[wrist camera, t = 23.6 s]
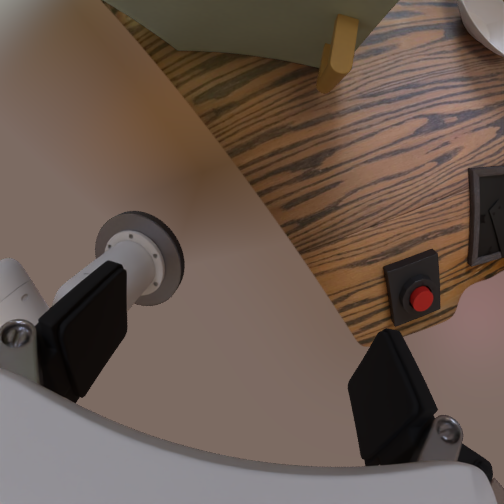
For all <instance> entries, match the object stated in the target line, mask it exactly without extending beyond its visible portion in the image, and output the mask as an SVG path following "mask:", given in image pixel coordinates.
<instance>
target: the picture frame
mask: <svg viewBox="0 0 504 504" xmlns="http://www.w3.org/2000/svg"><path fill="white" fill-rule="evenodd" d="M468 172H469V189H470V234H469V252H468V264H469V265H470V266H471V267H472V266H475V265H479V264H482V263H486V262H489V261H492V260H496V259H499V258H504V166H491V167H479V168H468Z"/></svg>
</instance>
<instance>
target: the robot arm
mask: <svg viewBox="0 0 504 504" xmlns="http://www.w3.org/2000/svg"><path fill="white" fill-rule="evenodd" d="M164 276H165V263H164V259H163V256H162V254H161V252H160V250H159V249H158V247H157V245H156V244H155V243H154V242H153V241H152V240H151V239H150V238H148V237H147V236H146V235H144V234H142V233H140V232H137V231H132V230H126V231H121V232H119V233H117V234H115V235H114V236H113V237H112V238H110V240H109V241H108V243H107V245H106V247H105V253H104V254H102V255H101V256H100V257H98V258H97V259H96V260H94V261H93V262H92V263H91V264H89V265H88V266H86V267H85V268H84V269H82V270H81V271H80V272H79V273H77V274H76V275H75V276H74V277H72V278H71V279H70V280H68V281H67V282H66V283H65V284H64V285H62V286H61V287H60V289H59V290H58V292H57V293H56V295H55V298H54V301H53V304H52V307H51V308H49V307H48V305H47V304H46V302H45V301H44V299H43V298H42V296H41V295H40V293H39V292H38V290H37V288H36V287H35V285H34V283H33V282H32V280H31V279H30V277H29V276H28V274H27V272H26V271H25V269H24V268H23V267H22V265H21V264H20V263H19V262H18V261H16V260H15V259H12V258H6V259H2V260H0V504H504V488H503V487H502V486H501V485H500V483H499V482H498V481H497V480H496V479H495V478H493V479H492V477H493V471H492V466H491V464H490V462H489V461H487V460H486V459H484V458H483V457H481V456H480V455H479V454H477V453H476V452H474V451H473V450H471V449H470V448H468V447H467V446H465V445H464V444H462V441H463V431H462V428H461V426H460V424H459V423H458V422H457V421H456V420H455V419H453V418H452V417H450V416H447V415H440V416H438V417H436V418H434V416H433V415H434V414H435V413H436V412H437V410H438V409H437V407H436V404H435V402H434V400H433V398H432V395H431V393H430V391H429V389H428V387H427V384H426V382H425V380H424V378H423V376H422V374H421V372H420V370H419V368H418V366H417V364H416V362H415V360H414V358H413V356H412V354H411V352H410V350H409V348H408V346H407V344H406V342H405V340H404V339H403V337H402V335H401V333H400V332H399V331H398V330H392V329H387V328H386V329H384V330H383V331H382V332H379V333H378V334H377V336H376V337H375V339H374V341H373V343H372V344H371V346H370V348H369V350H368V351H367V353H366V355H365V356H364V358H363V360H362V361H361V363H360V365H359V366H358V368H357V369H356V371H355V372H354V374H353V376H352V377H351V379H350V381H349V383H348V392H349V396H350V401H351V406H352V411H353V416H354V421H355V426H356V431H357V437H358V442H359V448H360V454H361V457H362V459H364V460H365V466H362V467H314V466H298V465H286V464H276V463H268V462H260V461H253V460H247V459H240V458H235V457H229V456H225V455H220V454H216V453H211V452H207V451H203V450H199V449H195V448H191V447H187V446H184V445H180V444H177V443H173V442H170V441H167V440H163V439H160V438H157V437H154V436H151V435H148V434H145V433H143V432H140V431H137V430H135V429H132V428H130V427H127V426H124V425H122V424H120V423H117V422H115V421H112V420H110V419H108V418H106V417H103V416H101V415H99V414H97V413H94V412H92V411H90V410H88V409H85V408H84V407H82V406H79V405H78V404H76V402H77V400H78V399H79V397H81V398H83V397H84V396H85V395H86V394H87V392H88V390H89V389H90V387H91V385H92V384H93V383H94V381H95V379H96V378H97V377H98V375H99V374H100V372H101V371H102V369H103V367H104V366H105V365H106V363H107V362H108V360H109V359H110V357H111V356H112V354H113V353H114V351H115V350H116V349H117V347H118V346H119V344H120V343H121V341H122V340H123V339H124V337H125V335H126V332H127V311H128V310H129V309H130V308H131V307H132V305H133V304H134V303H135V302H136V300H137V299H138V298H139V297H140V296H141V295H148V294H151V293H153V292H154V291H156V290H157V289H158V288H159V286H160V285H161V283H162V282H163V279H164ZM378 465H379V466H378Z"/></svg>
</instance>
